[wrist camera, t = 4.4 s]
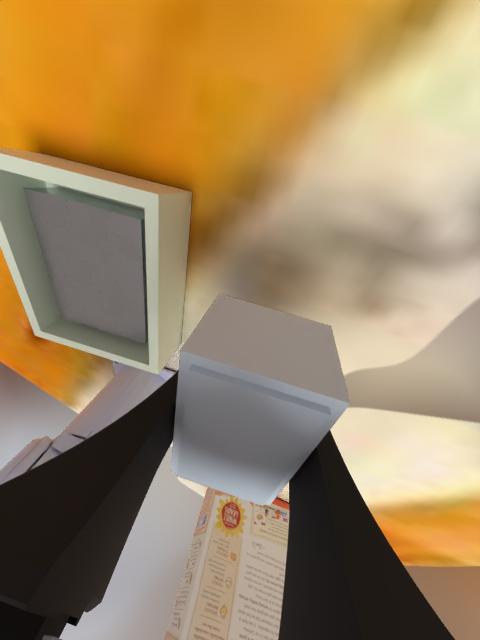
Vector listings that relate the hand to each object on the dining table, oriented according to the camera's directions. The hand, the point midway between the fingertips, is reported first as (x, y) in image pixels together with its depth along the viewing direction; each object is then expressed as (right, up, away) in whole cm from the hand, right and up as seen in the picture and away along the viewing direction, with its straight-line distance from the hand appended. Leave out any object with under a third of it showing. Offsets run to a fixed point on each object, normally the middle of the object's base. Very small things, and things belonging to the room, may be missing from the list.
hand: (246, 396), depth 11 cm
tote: (-11, +8, +9) cm, 16 cm away
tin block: (-11, +8, +8) cm, 16 cm away
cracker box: (+2, -25, +26) cm, 36 cm away
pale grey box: (0, +1, +1) cm, 2 cm away
